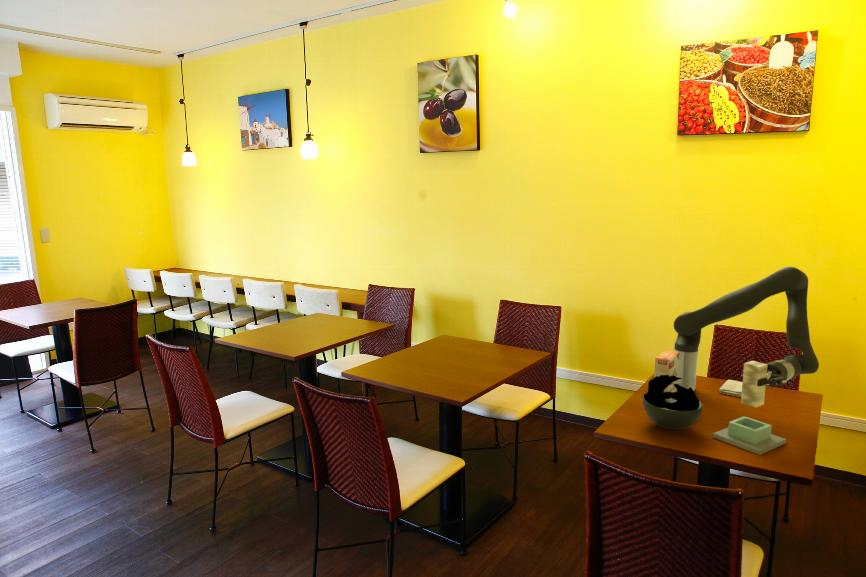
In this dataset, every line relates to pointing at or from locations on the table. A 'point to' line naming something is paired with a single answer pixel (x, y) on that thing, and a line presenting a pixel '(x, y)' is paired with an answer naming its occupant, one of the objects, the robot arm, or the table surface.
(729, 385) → the washcloth
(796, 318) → the robot arm
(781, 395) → the table surface
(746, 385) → the square peg
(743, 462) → the table surface
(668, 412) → the coal bowl
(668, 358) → the cracker box
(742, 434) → the socket holder
